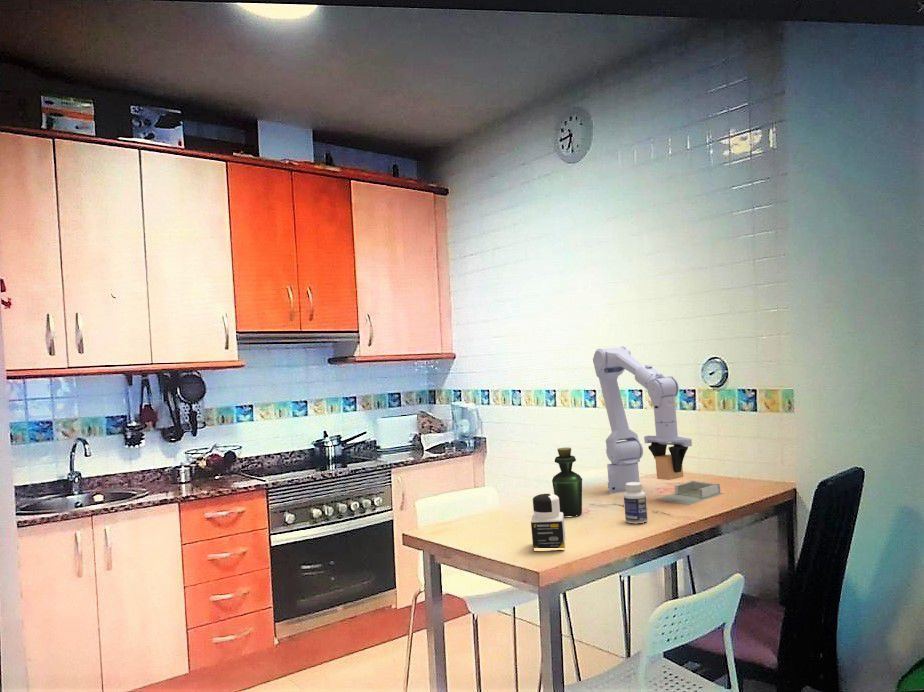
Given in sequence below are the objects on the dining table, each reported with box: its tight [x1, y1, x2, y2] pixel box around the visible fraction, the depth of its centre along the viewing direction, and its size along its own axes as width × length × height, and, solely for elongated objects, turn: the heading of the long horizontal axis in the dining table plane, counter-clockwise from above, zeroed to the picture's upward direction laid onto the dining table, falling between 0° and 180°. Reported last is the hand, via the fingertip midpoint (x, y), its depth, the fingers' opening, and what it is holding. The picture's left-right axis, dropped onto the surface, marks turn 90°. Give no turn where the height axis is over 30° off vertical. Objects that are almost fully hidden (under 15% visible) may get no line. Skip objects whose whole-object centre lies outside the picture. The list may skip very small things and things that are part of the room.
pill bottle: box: [623, 482, 648, 525], centre depth 170 cm, size 5×5×10 cm
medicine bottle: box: [530, 493, 567, 549], centre depth 155 cm, size 7×7×12 cm
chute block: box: [653, 453, 684, 481], centre depth 184 cm, size 6×5×6 cm
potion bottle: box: [551, 446, 583, 517], centre depth 183 cm, size 8×8×18 cm
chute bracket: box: [674, 480, 721, 499], centre depth 189 cm, size 8×9×2 cm
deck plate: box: [655, 492, 725, 506], centre depth 187 cm, size 16×11×1 cm
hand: (669, 470), depth 184 cm, fingers closed on chute block, 5 cm apart
